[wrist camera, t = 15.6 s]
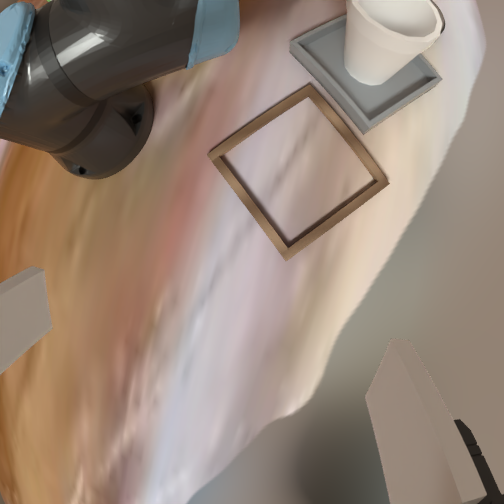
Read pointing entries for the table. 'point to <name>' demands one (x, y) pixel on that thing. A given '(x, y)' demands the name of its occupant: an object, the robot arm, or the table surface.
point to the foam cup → (387, 36)
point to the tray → (351, 90)
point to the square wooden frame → (344, 132)
